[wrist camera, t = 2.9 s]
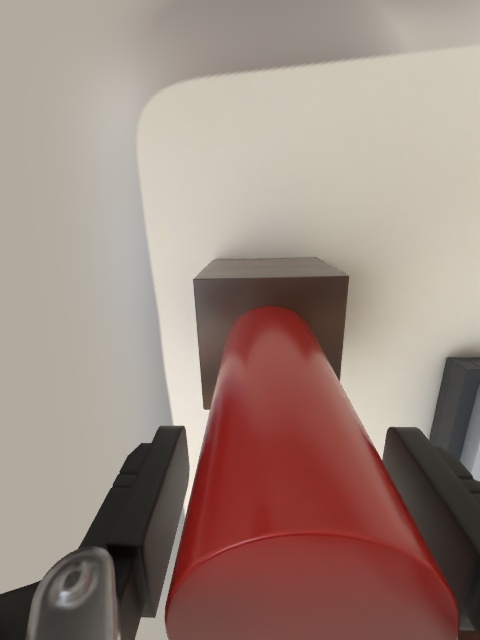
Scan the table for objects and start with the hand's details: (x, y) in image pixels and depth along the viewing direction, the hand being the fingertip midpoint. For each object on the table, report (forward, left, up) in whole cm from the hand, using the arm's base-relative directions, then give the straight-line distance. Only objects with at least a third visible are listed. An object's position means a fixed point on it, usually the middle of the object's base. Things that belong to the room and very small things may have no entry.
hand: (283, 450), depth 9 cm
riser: (0, 0, -16) cm, 16 cm away
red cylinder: (0, 0, -8) cm, 8 cm away
